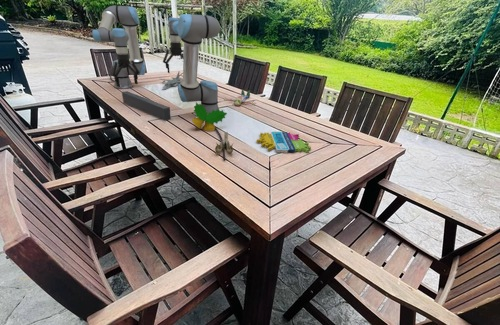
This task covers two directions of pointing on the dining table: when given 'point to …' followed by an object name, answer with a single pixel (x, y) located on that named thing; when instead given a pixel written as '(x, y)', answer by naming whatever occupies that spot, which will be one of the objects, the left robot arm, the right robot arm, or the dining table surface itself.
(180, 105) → the dining table surface
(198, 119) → the ornament
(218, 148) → the jawbone
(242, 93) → the toy
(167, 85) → the airplane
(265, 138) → the sign
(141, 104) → the bar
